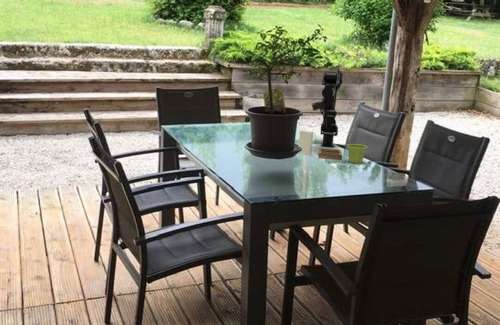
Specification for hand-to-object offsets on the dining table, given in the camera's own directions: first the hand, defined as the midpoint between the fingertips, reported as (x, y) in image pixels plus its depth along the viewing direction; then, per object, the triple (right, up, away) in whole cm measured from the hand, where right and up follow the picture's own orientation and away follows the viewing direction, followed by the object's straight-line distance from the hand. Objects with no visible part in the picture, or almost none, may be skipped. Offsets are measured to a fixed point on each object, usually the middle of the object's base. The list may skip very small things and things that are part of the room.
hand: (326, 127), depth 282 cm
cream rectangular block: (-12, -14, -6) cm, 19 cm away
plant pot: (+11, -19, -18) cm, 28 cm away
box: (0, -16, -9) cm, 18 cm away
